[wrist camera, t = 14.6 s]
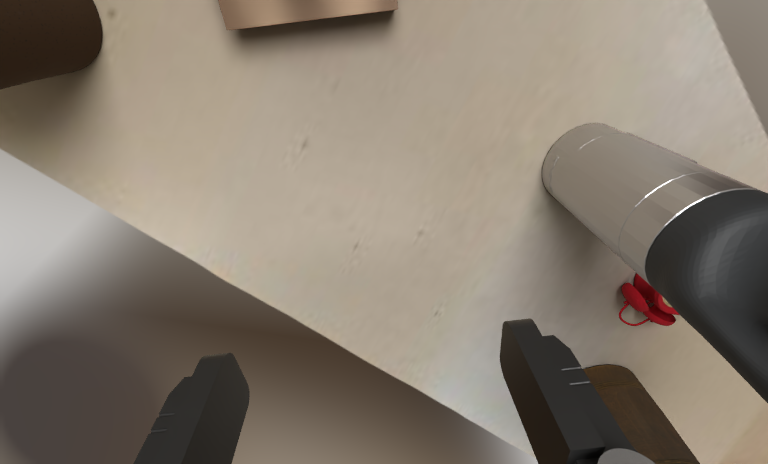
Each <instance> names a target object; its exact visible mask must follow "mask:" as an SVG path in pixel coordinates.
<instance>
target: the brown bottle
mask: <svg viewBox="0 0 768 464" xmlns="http://www.w3.org/2000/svg"><path fill="white" fill-rule="evenodd" d="M101 40H102V30H101V23H100V19H99V15H98V12H97V10H96V7H95V5H94V3H93V1H92V0H0V89H3V88H7V87H11V86H15V85H19V84H22V83H26V82H30V81H34V80H39V79H43V78H47V77H52V76H56V75H61V74H65V73H70V72H74V71H77V70H80V69H82V68H84V67H86V66H87V65H89V64H90V63H91V62H92V61H93V60H94V59H95V57H96V56H97V54H98V52H99V49H100V46H101Z"/></svg>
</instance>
